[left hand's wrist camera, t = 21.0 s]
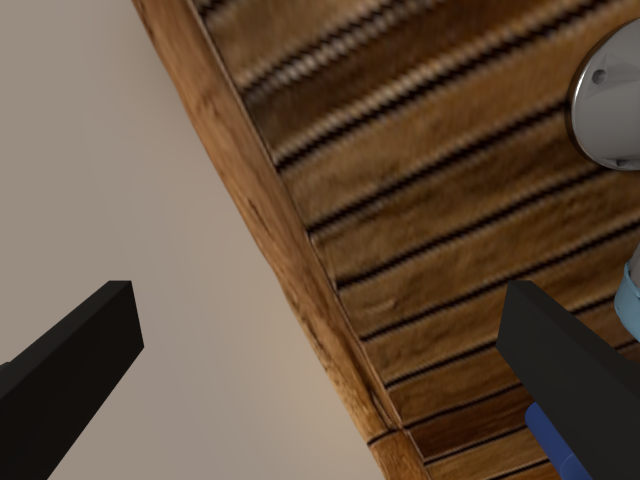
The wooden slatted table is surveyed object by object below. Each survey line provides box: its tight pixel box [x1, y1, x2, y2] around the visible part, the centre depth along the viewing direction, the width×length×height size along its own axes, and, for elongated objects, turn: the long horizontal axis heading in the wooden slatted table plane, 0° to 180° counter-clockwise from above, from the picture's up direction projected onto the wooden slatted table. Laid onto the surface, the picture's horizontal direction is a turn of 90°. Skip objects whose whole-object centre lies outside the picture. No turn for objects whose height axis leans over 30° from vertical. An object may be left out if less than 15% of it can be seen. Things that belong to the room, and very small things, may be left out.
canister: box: [525, 401, 593, 480], centre depth 50 cm, size 7×7×9 cm
